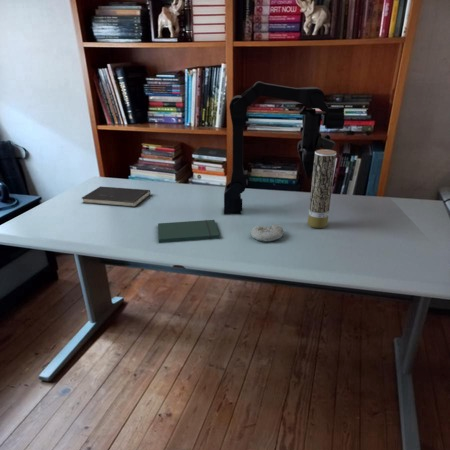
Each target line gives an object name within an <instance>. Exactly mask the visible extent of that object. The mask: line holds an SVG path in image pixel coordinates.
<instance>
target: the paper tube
mask: <svg viewBox="0 0 450 450" xmlns="http://www.w3.org/2000/svg"><path fill="white" fill-rule="evenodd" d="M336 161H337V151H336V150H334V149H333V150H325V149H319V150H316V151H315V156H314V166H313V172H312V175H311V187H310V188H311V189H310V196H309V206H308V207H309V208H308V216H307V217H308V218H307V225H308V226H309V227H310V228H311V229H312V228H313V229H325V228H326V227H327V226H328V223H329V216H330V208H331V200H332V193H333V184H334V177H335V169H336Z"/></svg>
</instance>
